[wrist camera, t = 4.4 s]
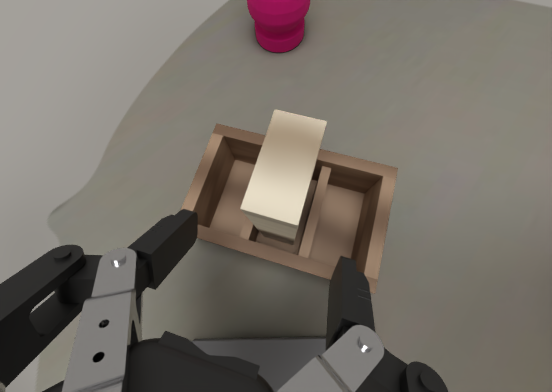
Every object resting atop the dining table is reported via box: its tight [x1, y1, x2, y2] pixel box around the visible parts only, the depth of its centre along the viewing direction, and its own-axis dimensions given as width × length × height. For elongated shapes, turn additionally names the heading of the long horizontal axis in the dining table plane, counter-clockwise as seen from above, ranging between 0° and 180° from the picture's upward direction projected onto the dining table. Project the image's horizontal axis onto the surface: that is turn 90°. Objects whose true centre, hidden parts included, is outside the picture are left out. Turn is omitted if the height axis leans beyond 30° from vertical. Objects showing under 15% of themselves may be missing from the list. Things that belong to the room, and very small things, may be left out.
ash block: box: [240, 110, 327, 245], centre depth 18 cm, size 6×3×12 cm, turn 163°
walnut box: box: [180, 124, 398, 294], centre depth 22 cm, size 10×16×6 cm, turn 73°
